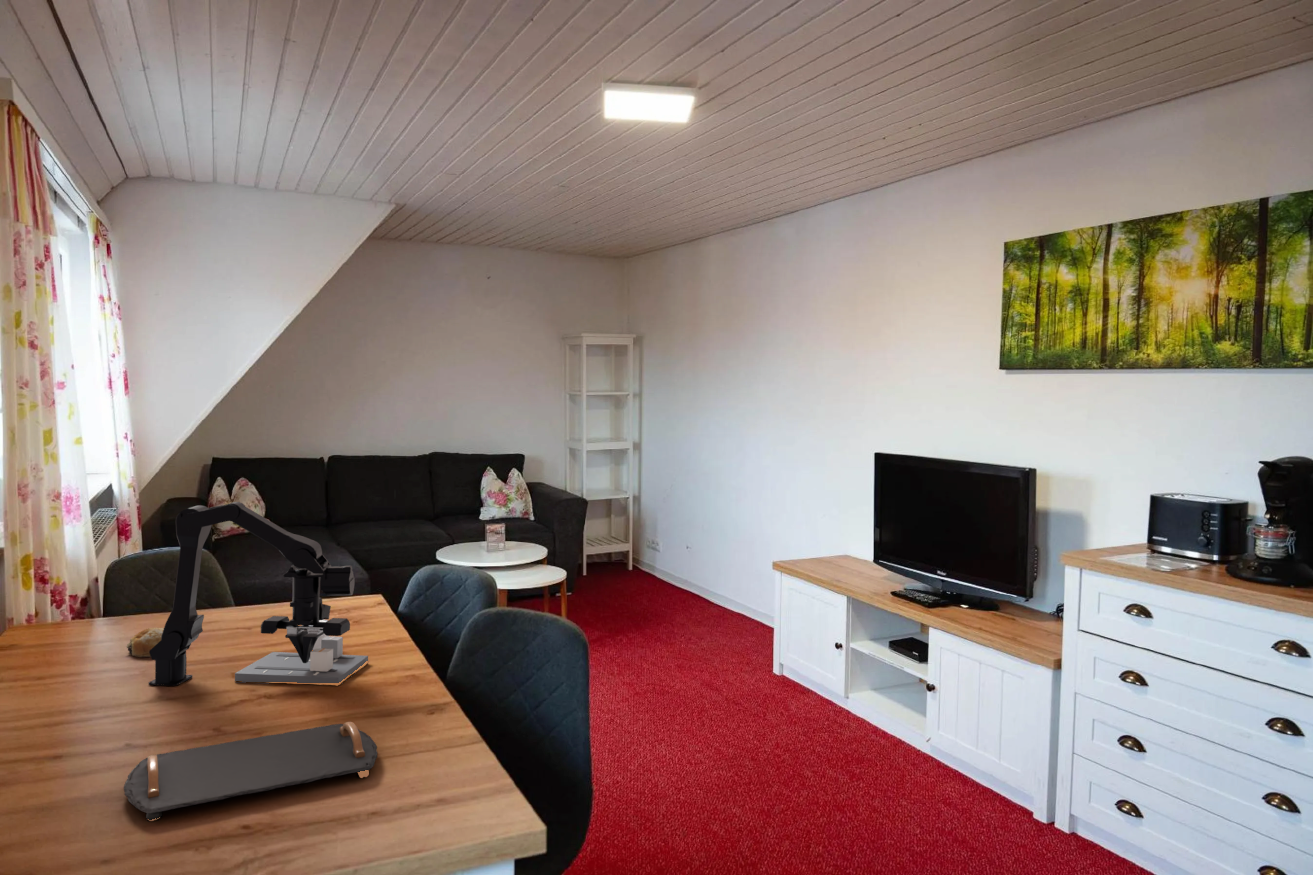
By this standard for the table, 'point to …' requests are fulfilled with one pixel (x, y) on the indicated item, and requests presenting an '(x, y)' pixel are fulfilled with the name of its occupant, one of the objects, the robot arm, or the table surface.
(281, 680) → the console
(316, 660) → the block
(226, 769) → the serving board
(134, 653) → the bread roll
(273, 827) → the table surface
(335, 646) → the fader
